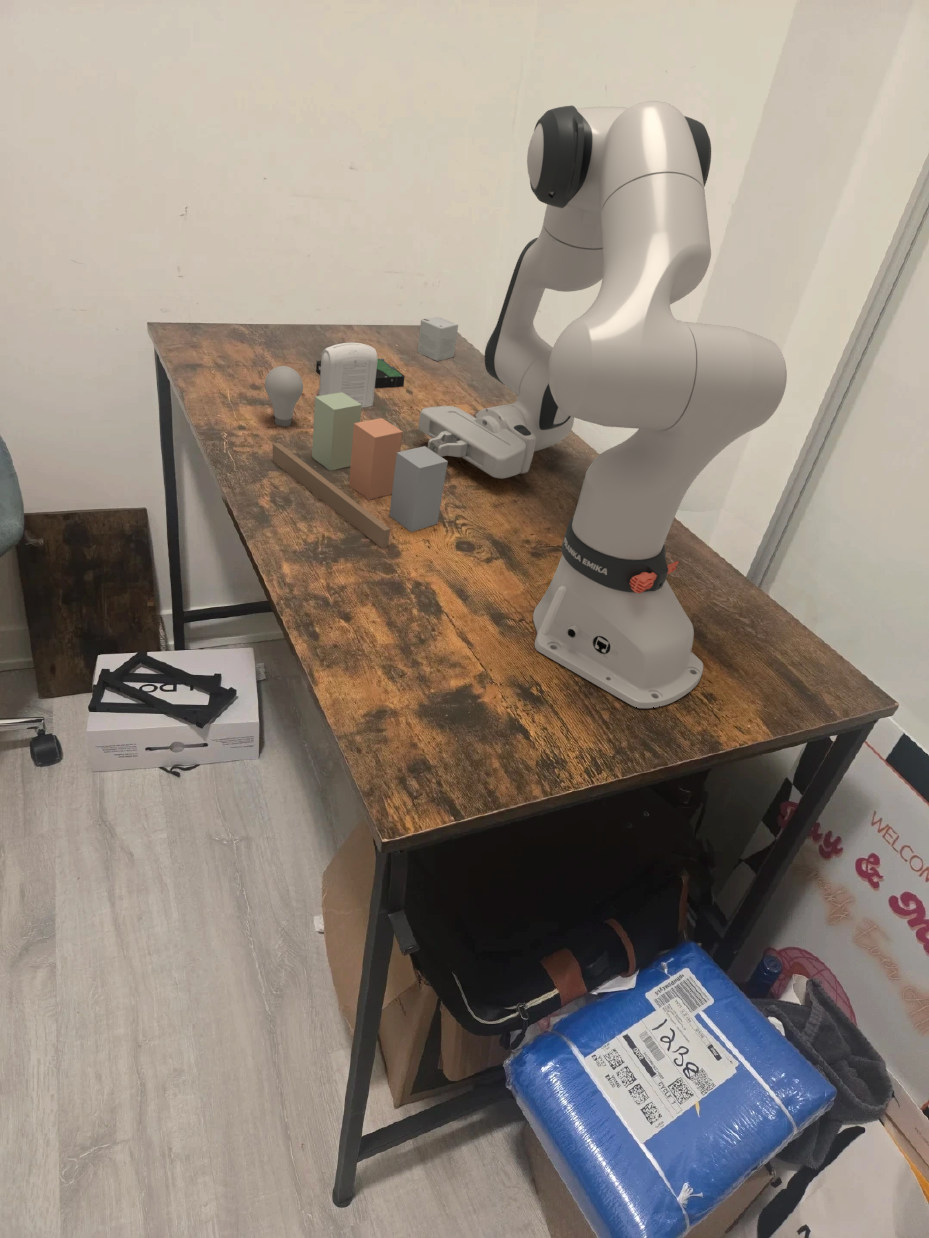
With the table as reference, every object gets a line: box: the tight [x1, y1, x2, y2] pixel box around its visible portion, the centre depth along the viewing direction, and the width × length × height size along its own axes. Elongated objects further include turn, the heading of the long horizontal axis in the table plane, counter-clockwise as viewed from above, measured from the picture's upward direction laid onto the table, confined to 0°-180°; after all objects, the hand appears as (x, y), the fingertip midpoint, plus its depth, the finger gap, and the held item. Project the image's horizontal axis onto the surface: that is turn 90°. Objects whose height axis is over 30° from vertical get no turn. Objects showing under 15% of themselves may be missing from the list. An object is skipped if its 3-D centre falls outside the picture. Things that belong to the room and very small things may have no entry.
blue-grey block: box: [388, 445, 449, 533], centre depth 111 cm, size 5×5×10 cm
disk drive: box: [315, 357, 406, 389], centre depth 157 cm, size 10×3×15 cm
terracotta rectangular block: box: [348, 417, 403, 501], centre depth 117 cm, size 5×5×10 cm
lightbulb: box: [264, 365, 304, 428], centre depth 130 cm, size 6×6×11 cm
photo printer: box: [318, 342, 378, 408], centre depth 141 cm, size 10×4×12 cm, turn 123°
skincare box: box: [417, 316, 459, 362], centre depth 174 cm, size 6×6×7 cm
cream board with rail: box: [271, 442, 391, 549], centre depth 119 cm, size 28×19×4 cm
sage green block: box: [311, 392, 363, 472], centre depth 122 cm, size 5×5×10 cm
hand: (433, 448), depth 124 cm, fingers closed
